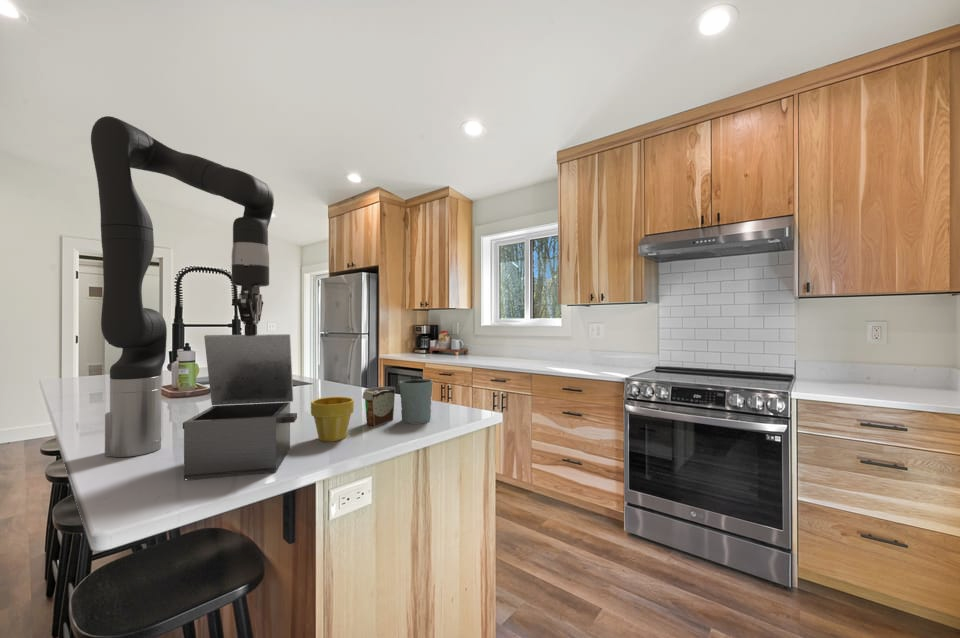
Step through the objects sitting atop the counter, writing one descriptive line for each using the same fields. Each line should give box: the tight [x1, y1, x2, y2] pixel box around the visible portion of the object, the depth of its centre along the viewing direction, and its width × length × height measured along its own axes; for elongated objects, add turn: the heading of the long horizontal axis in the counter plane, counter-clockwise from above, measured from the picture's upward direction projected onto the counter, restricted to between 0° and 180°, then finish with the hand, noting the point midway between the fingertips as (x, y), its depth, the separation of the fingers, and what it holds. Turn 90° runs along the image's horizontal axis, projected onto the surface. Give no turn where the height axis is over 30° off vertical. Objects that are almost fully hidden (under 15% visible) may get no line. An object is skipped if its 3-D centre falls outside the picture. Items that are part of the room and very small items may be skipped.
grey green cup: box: [398, 378, 434, 425], centre depth 128 cm, size 10×10×12 cm
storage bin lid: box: [203, 333, 294, 406], centre depth 97 cm, size 17×16×2 cm
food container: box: [362, 386, 397, 428], centre depth 125 cm, size 12×6×10 cm, turn 157°
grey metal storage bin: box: [182, 402, 298, 481], centre depth 90 cm, size 21×16×11 cm
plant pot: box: [310, 396, 355, 443], centre depth 109 cm, size 10×10×10 cm
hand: (250, 340), depth 96 cm, fingers closed
